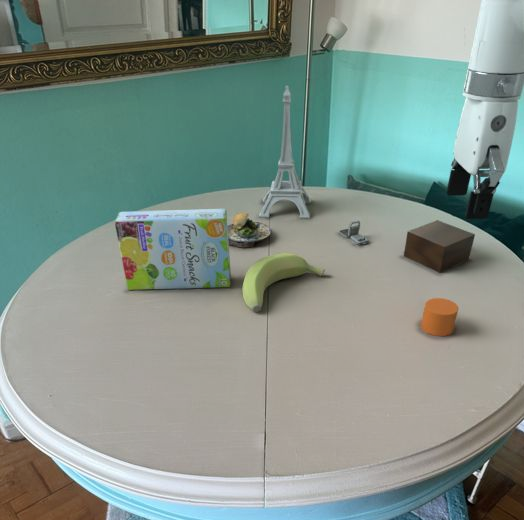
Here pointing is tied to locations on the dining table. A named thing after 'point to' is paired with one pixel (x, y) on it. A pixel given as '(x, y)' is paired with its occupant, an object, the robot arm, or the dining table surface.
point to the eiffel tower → (286, 163)
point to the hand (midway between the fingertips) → (465, 205)
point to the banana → (272, 275)
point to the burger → (246, 231)
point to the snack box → (174, 248)
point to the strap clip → (354, 233)
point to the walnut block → (438, 245)
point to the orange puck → (439, 316)
